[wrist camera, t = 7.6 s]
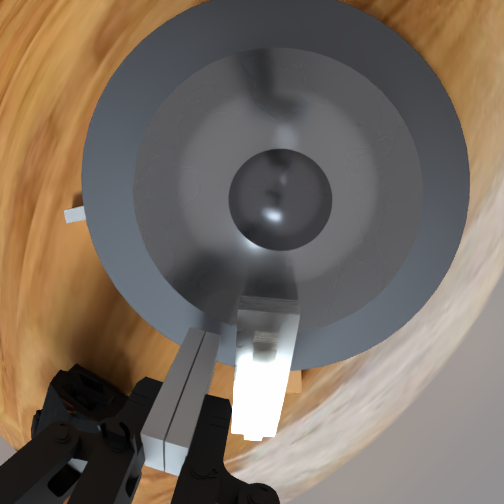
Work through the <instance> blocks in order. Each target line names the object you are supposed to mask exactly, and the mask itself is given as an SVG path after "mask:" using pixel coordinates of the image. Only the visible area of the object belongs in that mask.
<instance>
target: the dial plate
mask: <svg viewBox="0 0 504 504" xmlns="http://www.w3.org/2000/svg"><path fill="white" fill-rule="evenodd" d="M263 48H293V49H299V50H305V51H310V52H314V53H317V54H321V55H324V56H327V57H330V58H332V59H334V60H337V61H339V62H341V63H343V64H345V65H347V66H349V67H351V68H352V69H354V70H355V71H357V72H358V73H360V74H361V75H363V76H364V77H366V78H367V79H368V80H369V81H371V82H372V83H373V84H374V85H375V86H376V87H377V88H378V89H380V90H381V91H382V92H383V93H384V95H385V96H386V97H387V98H388V99H389V100H390V102H391V103H392V104H393V105H394V106H395V108H396V109H397V111H398V112H399V114H400V115H401V117H402V119H403V120H404V122H405V123H406V125H407V127H408V130H409V132H410V134H411V136H412V138H413V141H414V143H415V147H416V150H417V153H418V156H419V160H420V166H421V172H422V178H423V203H422V212H421V219H420V223H419V227H418V231H417V235H416V237H415V240H414V242H413V245H412V247H411V250H410V252H409V254H408V256H407V258H406V260H405V261H404V263H403V265H402V267H401V268H400V270H399V271H398V272H397V274H396V275H395V276H394V278H393V279H392V281H391V282H390V283H389V284H388V285H387V286H386V287H385V288H384V289H383V290H382V291H381V292H380V294H379V295H377V296H376V297H375V298H374V299H373V300H371V301H370V302H369V303H368V304H366V305H365V306H364V307H362V308H361V309H359V310H357V311H356V312H354V313H353V314H351V315H349V316H347V317H345V318H343V319H341V320H339V321H337V322H335V323H332V324H329V325H326V326H323V327H320V328H317V329H312V330H307V331H302V332H297V336H296V341H295V346H294V351H293V356H292V361H291V366H290V371H289V376H288V381H287V385H286V390H285V394H286V393H300V392H302V387H301V370H305V369H311V368H317V367H322V366H326V365H329V364H333V363H336V362H339V361H343V360H346V359H348V358H350V357H353V356H355V355H357V354H360V353H362V352H364V351H366V350H368V349H370V348H372V347H373V346H375V345H377V344H378V343H380V342H382V341H384V340H385V339H387V338H388V337H389V336H391V335H392V334H393V333H395V332H396V331H397V330H399V329H400V328H401V327H403V326H404V325H405V324H406V323H407V322H408V321H409V320H410V319H411V318H412V317H413V316H414V315H415V314H416V313H417V312H418V311H419V310H420V309H421V308H422V307H423V306H424V305H425V304H426V302H427V301H428V300H429V299H430V297H431V296H432V295H433V293H434V292H435V291H436V290H437V288H438V286H439V285H440V283H441V282H442V280H443V278H444V277H445V275H446V273H447V271H448V270H449V268H450V266H451V263H452V261H453V259H454V257H455V254H456V252H457V250H458V247H459V244H460V241H461V238H462V234H463V231H464V227H465V223H466V218H467V211H468V204H469V193H470V171H469V162H468V154H467V147H466V143H465V139H464V135H463V131H462V128H461V124H460V121H459V119H458V116H457V114H456V111H455V109H454V106H453V104H452V102H451V99H450V97H449V96H448V94H447V92H446V90H445V89H444V87H443V85H442V84H441V82H440V80H439V79H438V77H437V75H436V74H435V73H434V71H433V70H432V69H431V67H430V66H429V65H428V64H427V62H426V61H425V60H424V59H423V57H422V56H421V55H420V54H419V53H418V52H417V51H416V50H415V49H414V48H413V47H412V46H411V45H410V44H409V43H408V42H407V41H406V40H405V39H403V38H402V37H401V36H400V35H399V34H398V33H396V32H395V31H394V30H392V29H391V28H389V27H388V26H387V25H385V24H384V23H382V22H381V21H379V20H378V19H376V18H374V17H373V16H371V15H369V14H367V13H365V12H363V11H361V10H359V9H357V8H355V7H353V6H351V5H348V4H346V3H343V2H340V1H337V0H210V1H207V2H205V3H202V4H200V5H197V6H195V7H192V8H190V9H188V10H186V11H184V12H182V13H181V14H179V15H177V16H175V17H174V18H172V19H170V20H168V21H167V22H165V23H164V24H163V25H161V26H160V27H159V28H157V29H156V30H155V31H153V32H152V33H151V34H149V35H148V36H147V37H146V38H145V39H143V40H142V41H141V42H140V43H139V44H138V45H137V46H136V47H135V48H134V49H133V51H132V52H131V53H130V54H129V55H128V56H127V57H126V58H125V59H124V61H123V62H122V63H121V65H120V66H119V67H118V69H117V70H116V71H115V73H114V74H113V76H112V77H111V78H110V80H109V82H108V84H107V86H106V87H105V89H104V91H103V93H102V95H101V97H100V99H99V101H98V103H97V105H96V108H95V111H94V113H93V116H92V119H91V121H90V124H89V128H88V132H87V137H86V141H85V146H84V151H83V161H82V174H81V176H82V199H83V206H78V207H74V208H70V209H67V210H65V211H64V214H65V219H66V223H71V222H76V221H81V220H86V222H87V226H88V229H89V232H90V235H91V239H92V242H93V245H94V247H95V250H96V252H97V254H98V256H99V259H100V261H101V263H102V265H103V267H104V269H105V271H106V272H107V274H108V276H109V277H110V279H111V280H112V282H113V284H114V285H115V287H116V288H117V290H118V291H119V292H120V293H121V295H122V296H123V297H124V298H125V300H126V301H127V302H128V303H129V305H130V306H131V307H132V308H133V309H134V310H135V311H136V312H137V313H138V314H139V315H140V316H141V317H142V318H143V319H144V320H145V321H146V322H147V323H148V324H150V325H151V326H152V327H154V328H155V329H156V330H157V331H159V332H160V333H161V334H163V335H164V336H165V337H167V338H168V339H170V340H172V341H173V342H175V343H177V344H178V345H180V346H181V345H182V343H183V340H184V338H185V336H186V334H187V332H188V330H189V328H190V327H192V328H195V329H199V330H203V331H205V334H206V331H207V332H211V333H215V334H218V335H222V336H221V341H220V346H219V350H218V355H217V360H216V362H220V363H223V364H226V365H230V366H234V367H235V356H236V338H237V327H236V326H232V325H229V324H227V323H224V322H222V321H220V320H217V319H215V318H213V317H211V316H209V315H208V314H206V313H204V312H202V311H201V310H199V309H198V308H196V307H195V306H193V305H192V304H191V303H189V302H188V301H187V300H185V299H184V298H183V297H182V296H181V295H180V294H179V293H178V292H177V291H176V290H175V289H173V288H172V286H171V285H170V284H169V283H168V282H167V280H166V279H165V278H164V277H163V276H162V275H161V273H160V272H159V270H158V269H157V267H156V265H155V264H154V262H153V261H152V259H151V257H150V255H149V253H148V251H147V249H146V247H145V245H144V243H143V240H142V237H141V234H140V231H139V228H138V224H137V220H136V214H135V209H134V198H133V181H134V169H135V164H136V159H137V154H138V151H139V148H140V145H141V142H142V139H143V136H144V134H145V132H146V130H147V128H148V126H149V124H150V122H151V120H152V118H153V116H154V115H155V113H156V112H157V110H158V109H159V108H160V106H161V105H162V103H163V102H164V101H165V100H166V98H167V97H168V96H169V95H170V94H171V93H172V92H173V91H174V90H175V89H176V88H177V87H178V86H179V85H180V84H181V83H182V82H184V81H185V80H186V79H187V78H189V77H190V76H191V75H192V74H194V73H195V72H197V71H199V70H200V69H202V68H204V67H205V66H207V65H209V64H211V63H213V62H215V61H217V60H220V59H222V58H224V57H227V56H229V55H233V54H236V53H240V52H244V51H248V50H254V49H263ZM205 334H204V336H205Z"/></svg>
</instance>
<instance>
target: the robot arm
mask: <svg viewBox="0 0 504 504" xmlns="http://www.w3.org/2000/svg"><path fill="white" fill-rule="evenodd" d="M204 334H205V331H203V330H199V329H195V328H192V327H190V328H189V330H188V332H187V334H186V336H185V338H184V340H183V343H182V345H181V347H180V349H179V351H178V353H177V355H176V357H175V359H174V361H173V364H172V366H171V368H170V370H169V372H168V374H167V376H166V378H165V381H164V383H163V382H160V381H157V380H154V379H151V378H148V377H144V378H143V379H142V380H140V381H139V382H137V384H136V385H135V387H134V389H133V391H132V393H131V394H130V396H129V398H128V400H127V401H126V403H125V405H124V407H123V409H122V410H121V412H120V414H119V416H118V418H116V417H110V418H105V419H103V420H101V421H100V422H99V423H98V424H97V427H98V430H99V433H89V432H83V431H78V430H77V429H76V428H75V427H74V426H73V425H72V424H70V423H69V422H66V421H62V420H61V421H55V422H53V423H51V424H49V425H48V426H47V427H46V428H45V429H44V430H42V431H41V432H40V433H39V434H38V435H36V436H35V437H34V438H33V439H32V440H31V441H29V442H28V443H27V444H26V445H25V446H24V447H22V448H21V449H20V450H19V451H18V452H16V453H15V454H14V455H13V456H12V457H11V458H10V459H8V460H7V461H6V462H5V463H4V464H2V465H1V466H0V504H62V503H63V502H64V501H65V500H66V499H67V498H68V497H69V496H70V495H71V496H70V498H69V500H68V502H67V504H131V503H132V501H133V498H134V495H135V492H136V490H137V487H138V484H139V482H140V479H141V474H142V472H141V469H142V467H143V464H144V462H145V465H146V466H149V467H151V468H154V469H157V470H161V471H164V469H165V472H167V473H170V474H174V475H177V476H179V477H178V480H177V484H176V487H175V490H174V494H173V497H172V500H171V504H280V501H279V497H278V495H277V493H276V491H275V490H274V489H273V488H271V487H270V486H268V485H265V484H262V483H253V484H248V483H246V482H243V481H241V480H239V479H237V478H235V477H234V476H232V475H231V474H230V473H229V472H228V471H227V470H226V468H225V467H224V463H223V457H224V452H225V446H226V441H227V435H228V429H229V424H230V419H231V413H232V408H231V405H230V402H229V399H224V398H220V397H216V396H212V395H208V392H209V388H210V385H211V381H212V378H213V374H214V370H215V365H216V360H217V355H218V350H219V346H220V341H221V336H222V335H218V334H215V333H211V332H207V331H206V334H205V336H204Z"/></svg>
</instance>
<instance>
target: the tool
mask: <svg viewBox="0 0 504 504" xmlns="http://www.w3.org/2000/svg"><path fill="white" fill-rule="evenodd" d="M128 398H129V396H127V395H125V394H124V393H122V392H120V391H119V389H117V388H116V387H114V386H113V385H111V384H110V383H108V382H106V381H105V380H103V379H102V378H100V377H99V376H97V375H96V374H94V373H91V372H89V371H88V370H86V369H85V368H83V367H81V366H80V365H78V364H75V365H74V366H73V367H72V368H71V369H70V370H69V371H63V370H60V371H59V372H58V373H57V374H56V376H55V377H54V378H53V380H52V381H51V382H50V385H49V388H48V391H47V395H46V398H45V402H44V405H43V409H42V410H37V411H36V414H35V415H34V416H33V421H32V427H31V438H32V439H33V438H34V437H35V436H36V435H38V434H39V433H40V432H41V431H42V430H44V429H45V428H46V427H47V426H48V425H49V424H51V423H53V422H55V421H61V420H62V421H66V422H69V423H70V424H72V425H73V426H74V427H75V428H76V429H77V430H78V431H83V432H89V433H99V430H98V427H97V424H98V423H99V422H100V421H101V420H103V419H105V418H110V417H116V418H118V416H119V414H120V412H121V410H122V409H123V407H124V405H125V403H126V401H127V400H128ZM70 496H71V495H70ZM70 496H69V497H68V498H67V499H66V500H65V501H64V502H63V503H62V504H67V502H68V500H69V498H70Z"/></svg>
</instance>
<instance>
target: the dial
mask: <svg viewBox="0 0 504 504" xmlns="http://www.w3.org/2000/svg"><path fill="white" fill-rule="evenodd" d="M133 198H134V209H135V214H136V220H137V224H138V228H139V231H140V234H141V237H142V240H143V243H144V245H145V247H146V249H147V251H148V253H149V255H150V257H151V259H152V261H153V262H154V264H155V265H156V267H157V269H158V270H159V272H160V273H161V275H162V276H163V277H164V278H165V279H166V280H167V282H168V283H169V284H170V285H171V286H172V288H173V289H175V290H176V291H177V292H178V293H179V294H180V295H181V296H182V297H183V298H184V299H185V300H187V301H188V302H189V303H191V304H192V305H193V306H195V307H196V308H198V309H199V310H201V311H202V312H204V313H206V314H208V315H209V316H211V317H213V318H215V319H217V320H220V321H222V322H224V323H227V324H229V325H232V326H236V327H237V338H236V356H235V375H234V395H233V416H232V433H237V434H244V439H247V440H258V441H261V440H262V436H269V437H275V433H276V429H277V424H278V420H279V416H280V412H281V408H282V403H283V399H284V394H285V390H286V385H287V381H288V376H289V371H290V366H291V361H292V356H293V351H294V346H295V341H296V336H297V332H302V331H307V330H312V329H317V328H320V327H323V326H326V325H329V324H332V323H335V322H337V321H339V320H341V319H343V318H345V317H347V316H349V315H351V314H353V313H354V312H356V311H357V310H359V309H361V308H362V307H364V306H365V305H366V304H368V303H369V302H370V301H371V300H373V299H374V298H375V297H376V296H377V295H379V294H380V292H381V291H382V290H383V289H384V288H385V287H386V286H387V285H388V284H389V283H390V282H391V281H392V279H393V278H394V276H395V275H396V274H397V272H398V271H399V270H400V268H401V267H402V265H403V263H404V261H405V260H406V258H407V256H408V254H409V252H410V250H411V247H412V245H413V242H414V240H415V237H416V235H417V231H418V227H419V223H420V219H421V212H422V203H423V178H422V172H421V166H420V160H419V156H418V153H417V150H416V147H415V143H414V141H413V138H412V136H411V134H410V132H409V130H408V127H407V125H406V123H405V122H404V120H403V119H402V117H401V115H400V114H399V112H398V111H397V109H396V108H395V106H394V105H393V104H392V103H391V102H390V100H389V99H388V98H387V97H386V96H385V95H384V93H383V92H382V91H381V90H380V89H378V88H377V87H376V86H375V85H374V84H373V83H372V82H371V81H369V80H368V79H367V78H366V77H364V76H363V75H361V74H360V73H358V72H357V71H355V70H354V69H352V68H351V67H349V66H347V65H345V64H343V63H341V62H339V61H337V60H334V59H332V58H330V57H327V56H324V55H321V54H317V53H314V52H310V51H305V50H299V49H293V48H263V49H254V50H248V51H244V52H240V53H236V54H233V55H229V56H227V57H224V58H222V59H220V60H217V61H215V62H213V63H211V64H209V65H207V66H205V67H204V68H202V69H200V70H199V71H197V72H195V73H194V74H192V75H191V76H190V77H189V78H187V79H186V80H185V81H184V82H182V83H181V84H180V85H179V86H178V87H177V88H176V89H175V90H174V91H173V92H172V93H171V94H170V95H169V96H168V97H167V98H166V100H165V101H164V102H163V103H162V105H161V106H160V108H159V109H158V110H157V112H156V113H155V115H154V116H153V118H152V120H151V122H150V124H149V126H148V128H147V130H146V132H145V134H144V136H143V139H142V142H141V145H140V148H139V151H138V154H137V159H136V164H135V169H134V181H133Z"/></svg>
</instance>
